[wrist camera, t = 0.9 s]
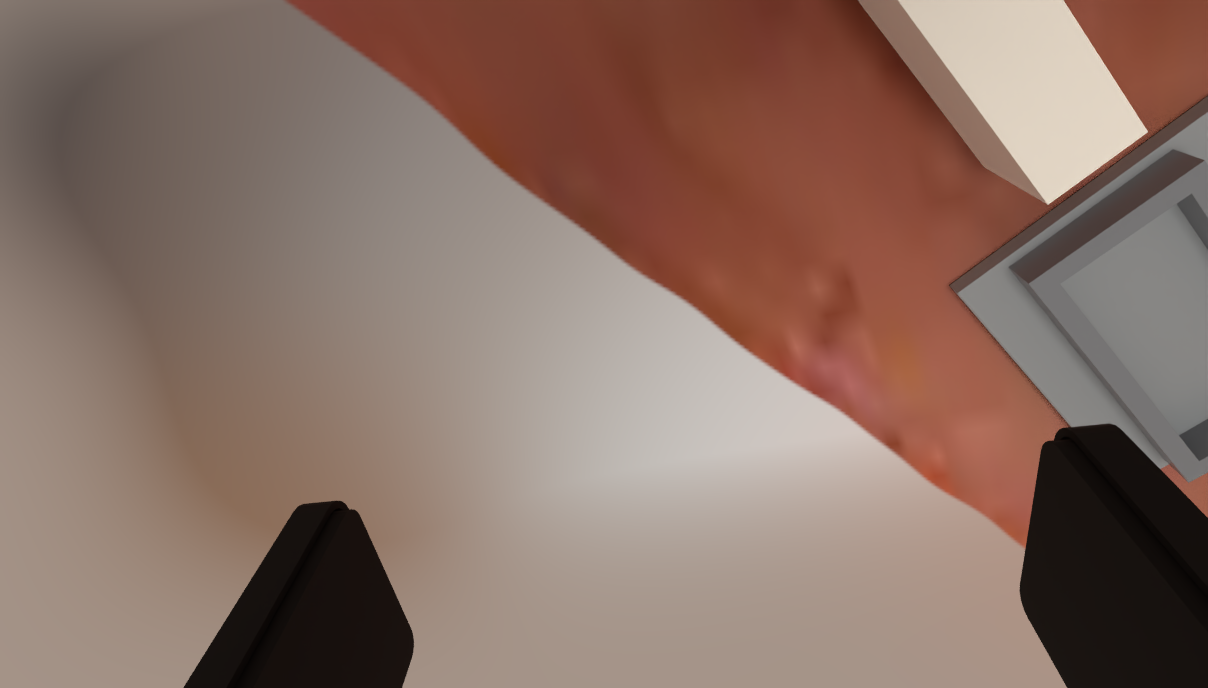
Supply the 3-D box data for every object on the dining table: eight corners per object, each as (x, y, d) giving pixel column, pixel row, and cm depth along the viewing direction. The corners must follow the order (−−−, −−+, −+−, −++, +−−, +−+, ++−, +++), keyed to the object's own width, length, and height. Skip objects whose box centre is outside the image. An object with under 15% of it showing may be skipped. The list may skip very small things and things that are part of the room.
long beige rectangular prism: (909, -121, 28) (972, -141, 23) (1062, 103, 32) (1147, 132, 26) (826, -40, 29) (868, -41, 24) (982, 166, 33) (1048, 204, 28)
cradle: (1209, 95, 31) (1261, 107, 28) (1358, 339, 36) (1414, 369, 34) (949, 285, 36) (974, 310, 33) (1114, 477, 41) (1146, 512, 38)
